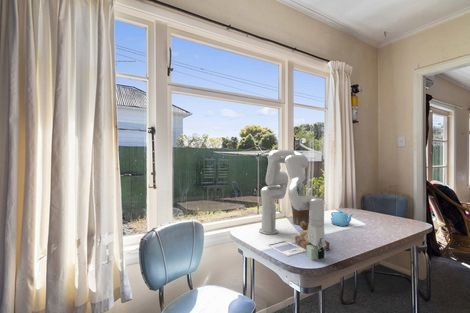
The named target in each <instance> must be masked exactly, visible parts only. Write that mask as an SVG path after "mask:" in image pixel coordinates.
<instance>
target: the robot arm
mask: <svg viewBox="0 0 470 313" xmlns="http://www.w3.org/2000/svg"><path fill="white" fill-rule="evenodd" d="M267 162H268V164H267V167H266V168H267V169H266V173H265V174H266V175H265V184H266V186H263V187H261V189H260V197H261V227H260V228H259V232H260V234H264V235H276V234H278V233H279V230H278V229H276V225H277V224H276V222H277V221H276V219H277V218H276V216H277V213H276V210H277V208H276V203H275V202H274V200H282V199H284V198H285V195H286V194H287V188H288V198H289V201H290V205H291V204H292V206H293V208H294V209H296V210H309V225H308V232H307V240H308V245H314V246H318V249H319V251H318V260H325V259H324V251H325V249H326V246H327V245H326V243H325V240H326V239H325V238H326V237H325V235H326V234H325V227H324V226H325V200H324V199H323V198H319V197H315V196H314V195H299V193H298V185H299V184H301V183H303V182H304V181H305V180H306V175H305V172H304V169H306V168H307V167H308V166H309V159H308V158H307V156H306V155H305V154H302V153H300V152H299V151H296V150H293V149H273V150H270V152H269V154H268V156H267ZM281 164H284V165H285V169H286V170H287V172H285V171H282V170H281ZM289 178H290V184H289V186H288V183H289ZM319 244H320V245H319ZM320 246H322V247H321V249H320Z"/></svg>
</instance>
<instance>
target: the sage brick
mask: <svg viewBox="0 0 470 313" xmlns="http://www.w3.org/2000/svg"><path fill="white" fill-rule="evenodd" d="M319 245H320V244H319ZM321 247H322V246H320V249H321ZM318 251H319V249H318V246H314V245H307V251H306V257H307V258H308V259H309V260H311V261H315V260H316V261H317V260H318V261H319V259H318ZM326 251H327V250H326V249H325V251H324V259H323V260H325V259H326Z"/></svg>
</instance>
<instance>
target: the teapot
mask: <svg viewBox="0 0 470 313" xmlns="http://www.w3.org/2000/svg"><path fill="white" fill-rule="evenodd" d="M330 215H331V217H330V222H331V223H332V225H334V224H335V225H336V226H338V225H339V226H338V227H346V226H345V225H347V226H349V225H350V223H351V221H352V217H353V215H354V214H353V213H350V214H348V213H347V212H345V211H343V210H338V211H332V212H331V213H330Z"/></svg>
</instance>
